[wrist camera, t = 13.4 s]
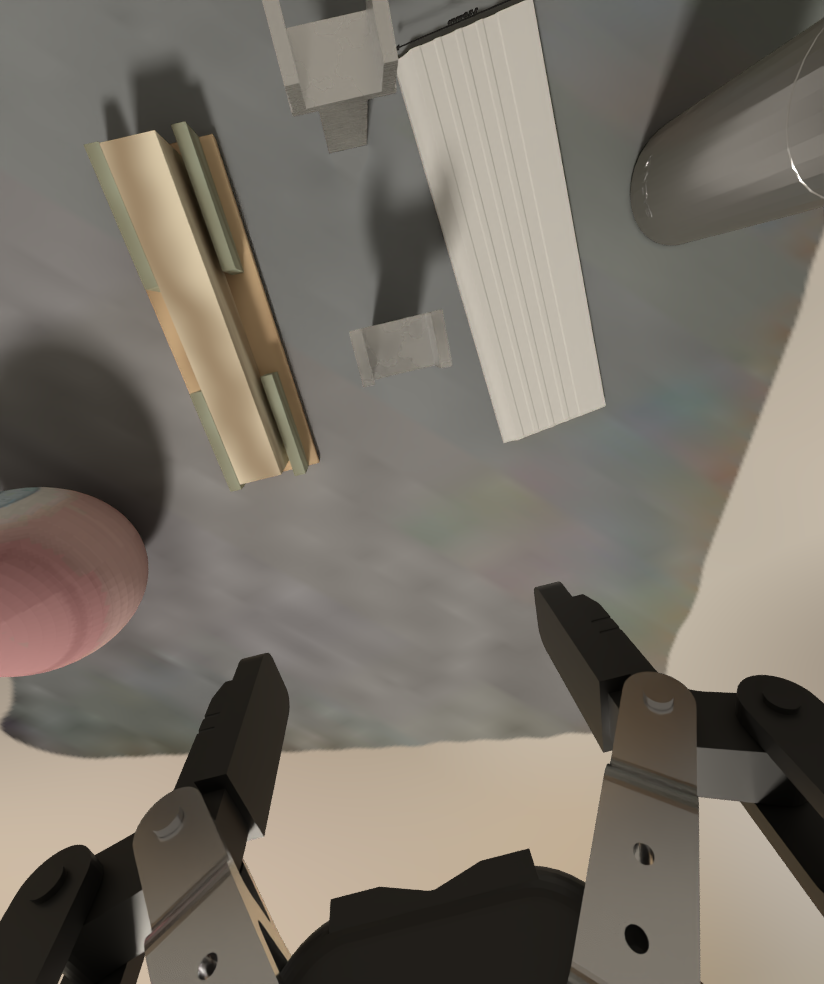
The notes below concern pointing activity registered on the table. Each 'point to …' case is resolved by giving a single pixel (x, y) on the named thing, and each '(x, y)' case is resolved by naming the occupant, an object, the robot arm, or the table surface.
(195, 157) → the rack
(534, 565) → the table surface
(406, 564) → the table surface
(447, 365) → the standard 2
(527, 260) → the baseboard
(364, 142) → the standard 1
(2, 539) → the eyeball
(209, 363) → the rail
